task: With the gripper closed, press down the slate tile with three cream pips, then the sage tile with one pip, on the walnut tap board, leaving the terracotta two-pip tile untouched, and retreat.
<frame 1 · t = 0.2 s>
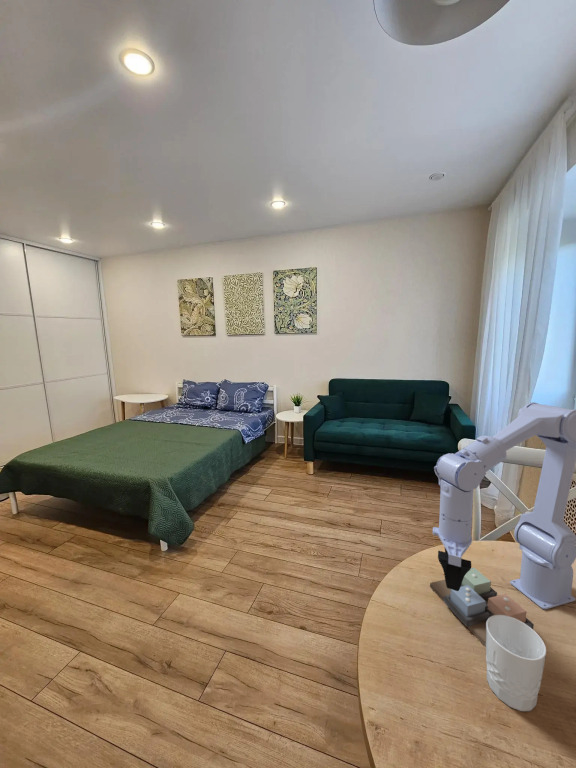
hand: (452, 575, 63), 10 cm above the table, fingers open, 7 cm apart
tap board: (478, 611, 66), on the table
tile three: (467, 600, 65), point 3 cm above the table, slide at 0.0 cm
tile one: (474, 580, 70), point 3 cm above the table, slide at 0.0 cm
tile two: (506, 609, 62), point 3 cm above the table, slide at 0.0 cm
white cup: (510, 689, 51), on the table
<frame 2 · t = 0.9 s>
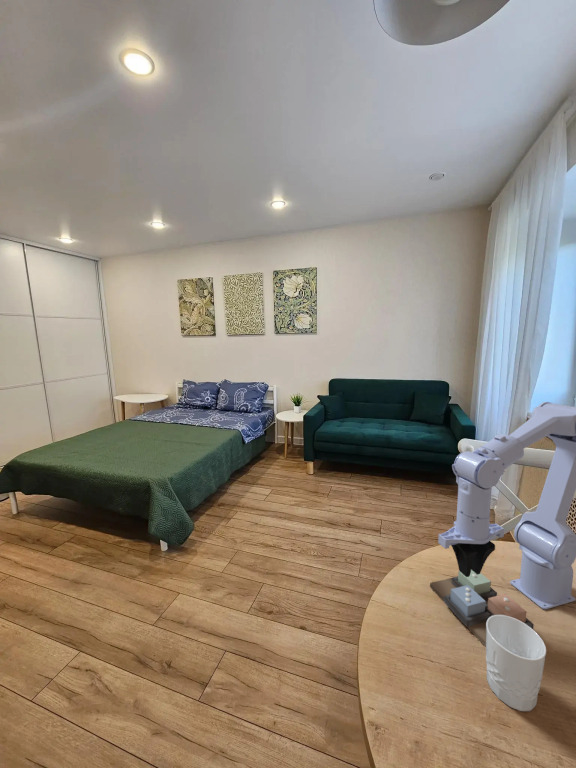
hand: (469, 572, 64), 10 cm above the table, fingers closed
nothing on the table moved.
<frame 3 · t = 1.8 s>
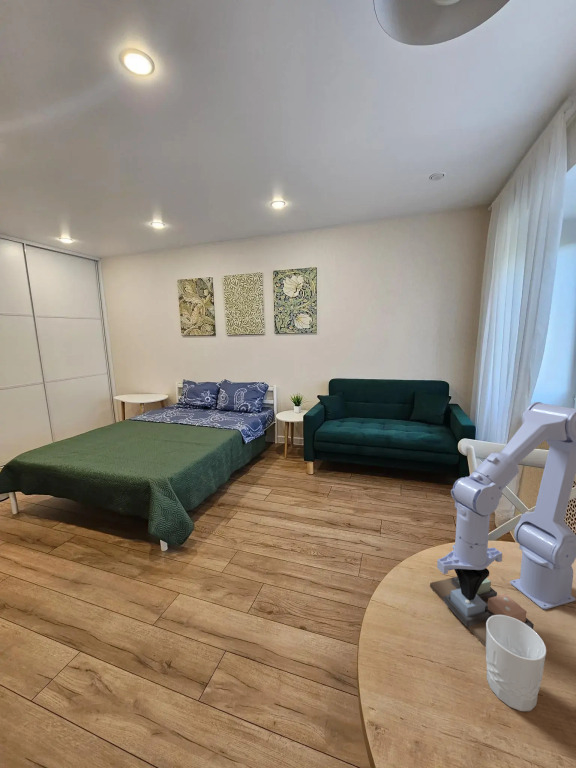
hand: (467, 596, 65), 4 cm above the table, fingers closed, pressing on tile three
tile three: (467, 601, 65), point 3 cm above the table, slide at -0.4 cm, touching gripper
everything else where it was.
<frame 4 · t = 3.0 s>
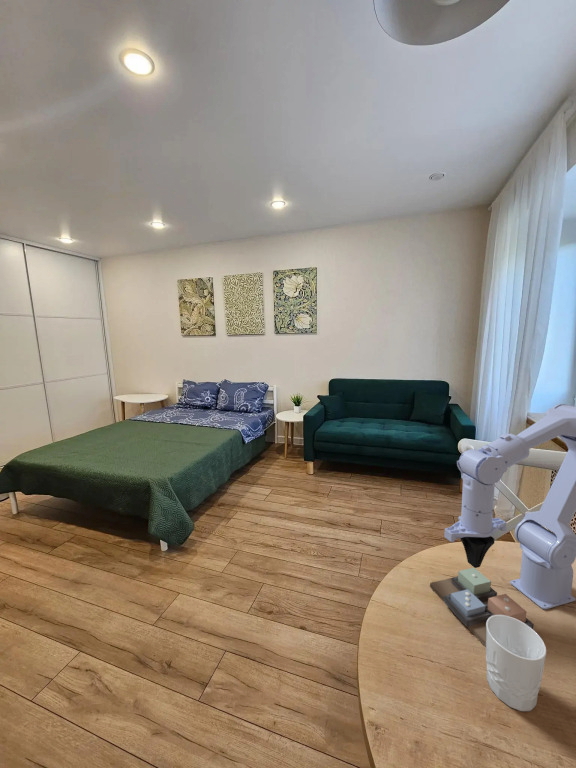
hand: (473, 564, 67), 9 cm above the table, fingers closed
tile three: (467, 604, 65), point 2 cm above the table, slide at -1.0 cm
everything else where it was.
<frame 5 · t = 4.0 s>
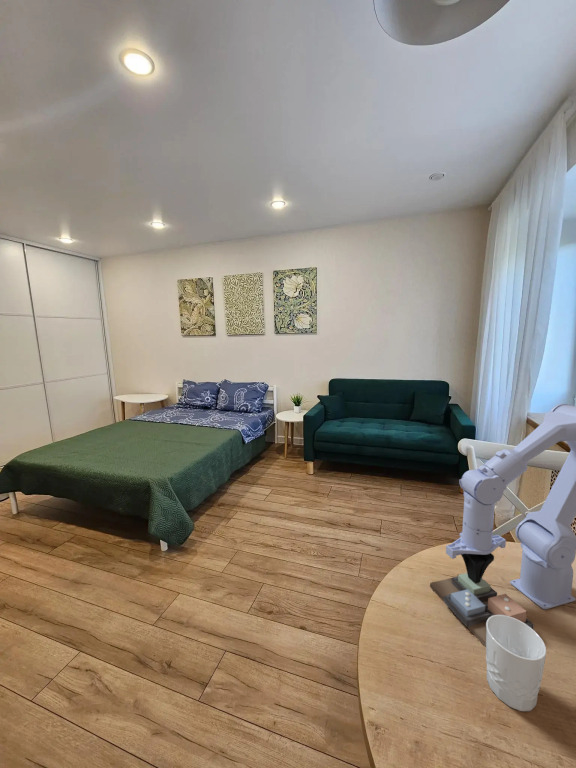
hand: (473, 579, 70), 4 cm above the table, fingers closed, pressing on tile one
tile one: (473, 584, 70), point 2 cm above the table, slide at -1.0 cm, touching gripper
everything else where it was.
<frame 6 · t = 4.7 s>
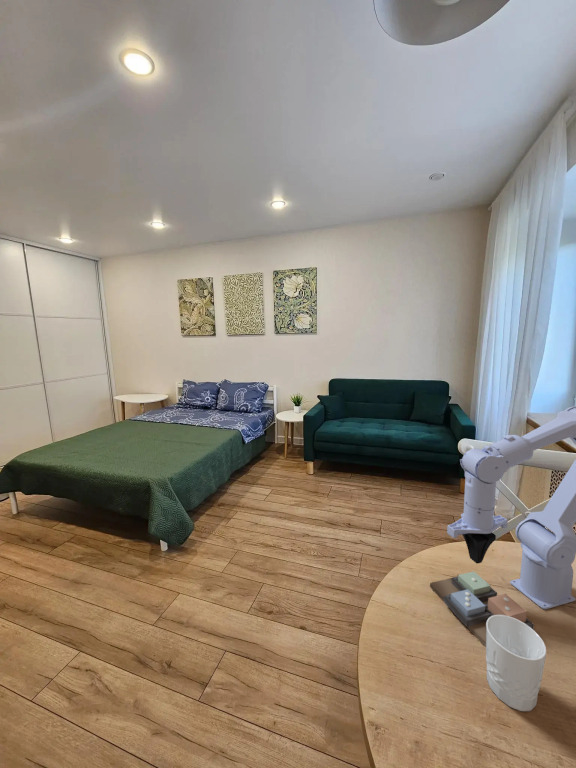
hand: (475, 560, 69), 9 cm above the table, fingers closed
tile one: (473, 584, 70), point 2 cm above the table, slide at -1.0 cm
everything else where it was.
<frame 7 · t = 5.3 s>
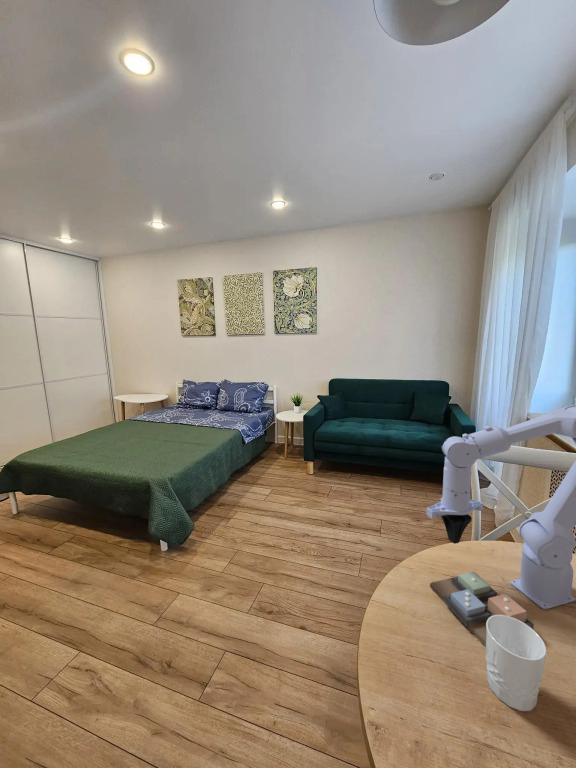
hand: (453, 540, 74), 10 cm above the table, fingers closed
nothing on the table moved.
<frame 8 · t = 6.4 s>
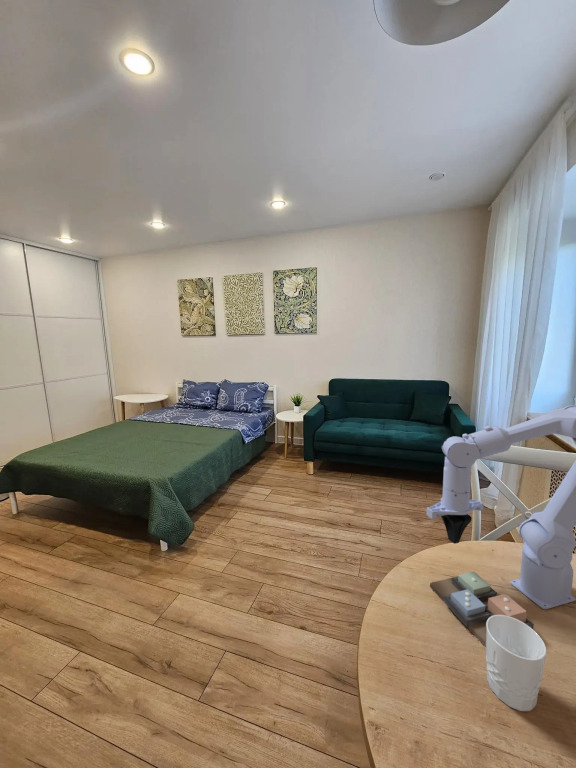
hand: (453, 540, 74), 10 cm above the table, fingers closed
nothing on the table moved.
at the end: tile three slide at -1.0 cm; tile one slide at -1.0 cm; tile two slide at 0.0 cm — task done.
